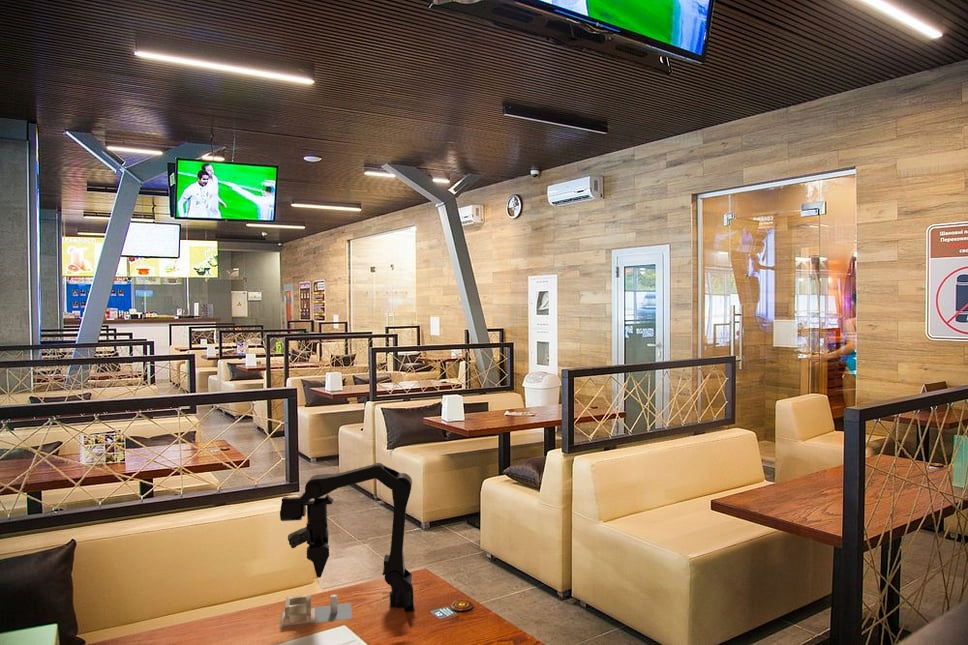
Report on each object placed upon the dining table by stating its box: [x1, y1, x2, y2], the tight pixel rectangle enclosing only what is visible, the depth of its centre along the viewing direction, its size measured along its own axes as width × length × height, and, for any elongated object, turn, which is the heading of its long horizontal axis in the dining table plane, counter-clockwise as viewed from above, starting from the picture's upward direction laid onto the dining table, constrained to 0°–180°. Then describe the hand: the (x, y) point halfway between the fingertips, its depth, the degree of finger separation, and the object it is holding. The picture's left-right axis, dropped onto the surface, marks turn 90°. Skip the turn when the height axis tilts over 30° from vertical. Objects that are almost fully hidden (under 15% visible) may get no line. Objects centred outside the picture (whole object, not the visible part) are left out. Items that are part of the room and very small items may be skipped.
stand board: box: [279, 594, 353, 629], centre depth 193 cm, size 20×11×6 cm, turn 104°
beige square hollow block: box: [284, 594, 312, 623], centre depth 192 cm, size 7×7×4 cm
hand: (318, 571), depth 197 cm, fingers open, 9 cm apart
